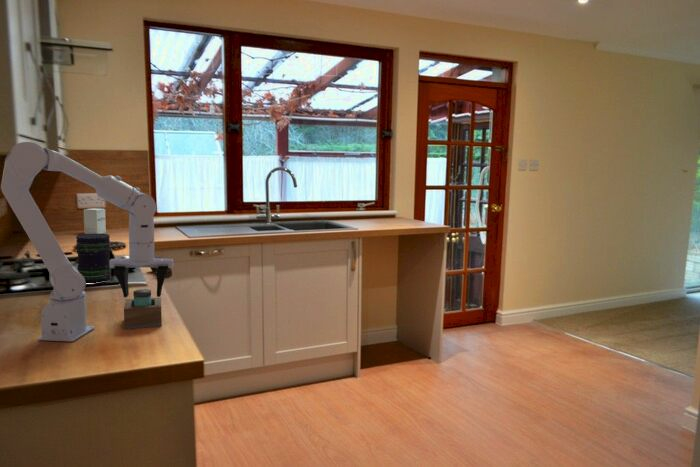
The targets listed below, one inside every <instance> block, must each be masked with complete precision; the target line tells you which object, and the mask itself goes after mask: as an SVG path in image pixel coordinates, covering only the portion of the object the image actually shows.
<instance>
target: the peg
mask: <svg viewBox="0 0 700 467" xmlns="http://www.w3.org/2000/svg"><path fill="white" fill-rule="evenodd" d="M132 295H133V299H134V307H136V306H151V298H152V290H151V289H147V288H143V289H142V288H141V289H140V288H139V289H136V290H133V294H132Z"/></svg>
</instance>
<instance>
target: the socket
mask: <svg viewBox="0 0 700 467" xmlns="http://www.w3.org/2000/svg"><path fill="white" fill-rule="evenodd" d="M162 319H163V318H162V297H151V306H136V307H134V298H132V299H131V298H130V299H129V298H128V299H125V302H124V306H123V320H124V321H123V324H124V327H123V328H124V330H130V329H131V330H132V329H144V328H145V329H146V328H157V327H162V326H163V324H162V321H163V320H162Z"/></svg>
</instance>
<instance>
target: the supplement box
mask: <svg viewBox="0 0 700 467" xmlns="http://www.w3.org/2000/svg"><path fill="white" fill-rule="evenodd" d="M106 222H107V220H106V208H98V207H97V208H96V207H95V208H94V207H93V208H86V209H85V208H84V209H83V224H84V225H83V226H84V227H83V228H84V230H83V234H107V233H106V232H107V231H106V230H107V229H106V228H107V227H106V226H107V225H106Z"/></svg>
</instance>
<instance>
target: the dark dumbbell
mask: <svg viewBox="0 0 700 467" xmlns="http://www.w3.org/2000/svg"><path fill="white" fill-rule="evenodd" d="M154 258H162V257H161V256H159V257H158V256H157V257H155V256H154ZM149 268H150V270H151V271H152V273H156V270H157V269H158V267H149ZM172 276H173V269H172V268H169V270H168V272H167V274H166V277H165V279H170V278H171V277H172Z"/></svg>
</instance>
